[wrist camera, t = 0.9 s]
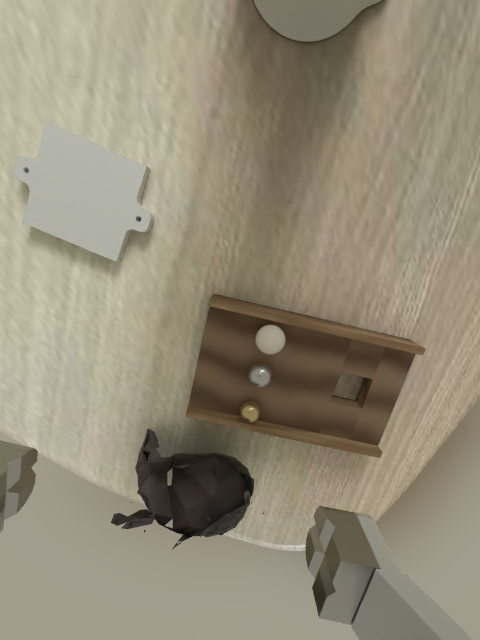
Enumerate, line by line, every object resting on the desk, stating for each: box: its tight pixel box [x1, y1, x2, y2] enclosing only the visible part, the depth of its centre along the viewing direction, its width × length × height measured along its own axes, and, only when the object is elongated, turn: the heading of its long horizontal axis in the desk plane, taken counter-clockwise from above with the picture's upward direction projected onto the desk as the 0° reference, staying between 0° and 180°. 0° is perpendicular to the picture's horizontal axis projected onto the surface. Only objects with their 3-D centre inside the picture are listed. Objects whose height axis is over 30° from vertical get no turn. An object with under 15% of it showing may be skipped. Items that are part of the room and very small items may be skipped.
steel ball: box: [248, 363, 272, 388], centre depth 41 cm, size 3×3×3 cm
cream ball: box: [256, 325, 285, 355], centre depth 39 cm, size 4×4×4 cm
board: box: [185, 294, 425, 458], centre depth 43 cm, size 18×30×4 cm, turn 77°
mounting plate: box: [13, 121, 154, 262], centre depth 39 cm, size 18×13×2 cm
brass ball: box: [240, 401, 260, 423], centre depth 42 cm, size 3×3×3 cm
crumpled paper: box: [111, 429, 265, 548], centre depth 42 cm, size 14×15×20 cm
